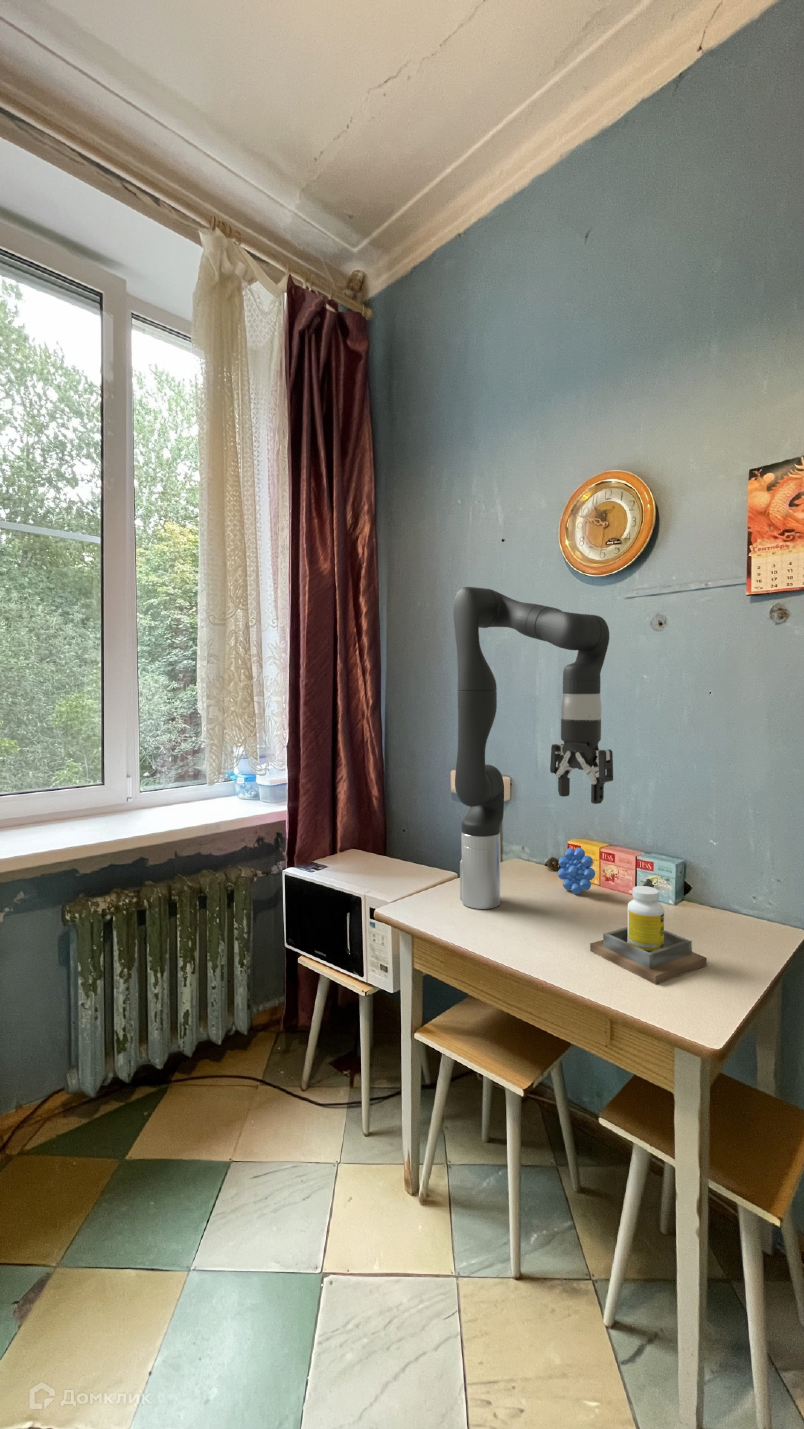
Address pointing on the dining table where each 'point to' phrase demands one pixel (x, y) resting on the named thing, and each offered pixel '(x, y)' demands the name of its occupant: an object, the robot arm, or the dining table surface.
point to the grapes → (576, 870)
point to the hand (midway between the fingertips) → (579, 799)
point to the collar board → (650, 956)
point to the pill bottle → (646, 919)
